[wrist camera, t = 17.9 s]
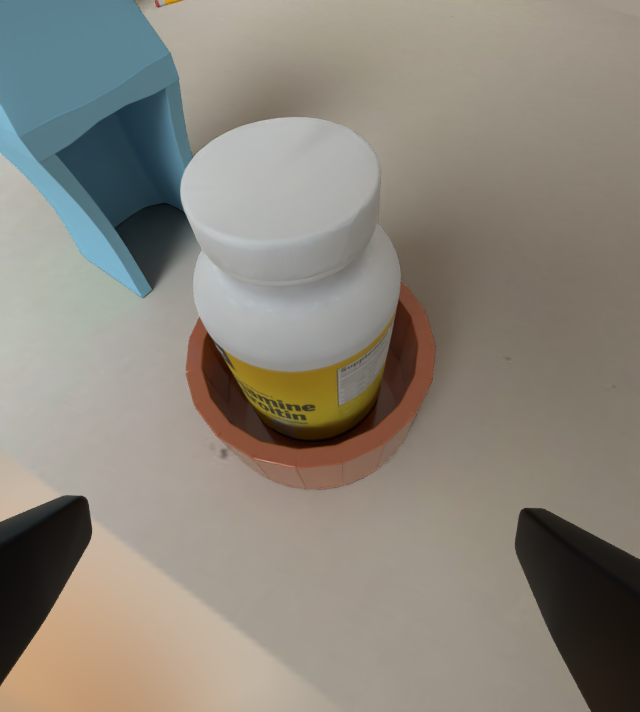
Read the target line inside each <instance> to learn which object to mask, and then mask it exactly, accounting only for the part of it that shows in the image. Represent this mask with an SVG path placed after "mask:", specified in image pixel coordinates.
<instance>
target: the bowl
mask: <svg viewBox="0 0 640 712" xmlns="http://www.w3.org/2000/svg"><path fill="white" fill-rule="evenodd" d="M435 348H436V346H435V341H434V338H433V334H432V331H431V328H430V324H429V321H428V317H427V314H426V311H425V310H424V309H423V307H422V306H421V305H420V303H419V302H418V300H417V299H416V298H415V296H414V295H413V293H412V292H411V291H410V289H409V288H408V287H407V286H406V285H405V284H403V283H402V282H401V283H400V294H399V299H398V304H397V310H396V315H395V319H394V324H393V329H392V334H391V339H390V344H389V348H388V353H387V358H386V363H385V367H384V372H383V377H382V382H381V387H380V391H379V396H378V398H377V401H376V404H375V406H374V408H373V410H372V411H371V413H370V414H369V416H368V417H367V418H366V419H365V421H364V422H363V423H362V424H361V425H360V426H359V427H357V428H356V429H355V430H354V431H352V432H351V433H349V434H347V435H345V436H343V437H341V438H339V439H336V440H333V441H330V442H325V443H317V444H309V443H300V442H296V441H292V440H289V439H286V438H284V437H282V436H280V435H278V434H277V433H275V432H274V431H272V430H271V429H270V428H269V427H267V426H266V425H265V424H264V423H263V422H262V420H261V419H260V418H259V417H258V415H257V414H256V412H255V411H254V409H253V407H252V406H251V404H250V402H249V400H248V399H247V397H246V395H245V393H244V392H243V390H242V388H241V387H240V385H239V383H238V382H237V380H236V378H235V376H234V375H233V373H232V371H231V370H230V368H229V366H228V365H227V363H226V361H225V360H224V358H223V356H222V355H221V353H220V352H219V350H218V349H217V347H216V345H215V343H214V342H213V340H212V339H211V337H210V335H209V334H208V332H207V330H206V328H205V326H204V325H203V323H202V321H201V319H200V316H199V319H198V321H197V323H196V325H195V327H194V329H193V331H192V334H191V336H190V340H189V344H188V354H187V363H186V377H187V381H188V385H189V388H190V392H191V396H192V399H193V403H194V406H195V407H196V410H197V411H198V412H199V414H200V415H201V416H202V418H203V419H204V420H205V422H206V423H207V424H208V426H209V427H210V428H211V430H212V431H213V432H214V434H215V435H216V436H217V437H218V438H219V439H220V440H221V441H222V442H223V443H224V444H225V445H226V446H227V447H228V448H229V449H230V450H231V451H232V452H233V453H234V454H235V455H236V456H237V457H238V458H239V459H240V460H241V461H242V462H243V463H245V464H246V465H248V466H250V467H251V468H252V469H253V470H255V471H256V472H258V473H259V474H261V475H262V476H264V477H266V478H268V479H270V480H272V481H274V482H276V483H279V484H283V485H286V486H289V487H294V488H300V489H317V490H320V489H329V488H336V487H340V486H343V485H347V484H350V483H353V482H355V481H357V480H360V479H362V478H364V477H366V476H367V475H369V474H371V473H373V472H374V471H376V470H377V469H378V468H380V467H381V466H382V465H383V464H385V463H386V462H387V461H388V460H389V459H390V458H391V457H392V456H393V455H394V454H395V452H396V451H397V450H398V448H399V447H400V446H401V444H403V442H404V440H405V438H406V436H407V434H408V432H409V430H410V428H411V426H412V424H413V422H414V420H415V418H416V416H417V413H418V411H419V409H420V407H421V405H422V403H423V400H424V398H425V396H426V394H427V392H428V390H429V387H430V385H431V383H432V380H433V371H434V359H435Z"/></svg>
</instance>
